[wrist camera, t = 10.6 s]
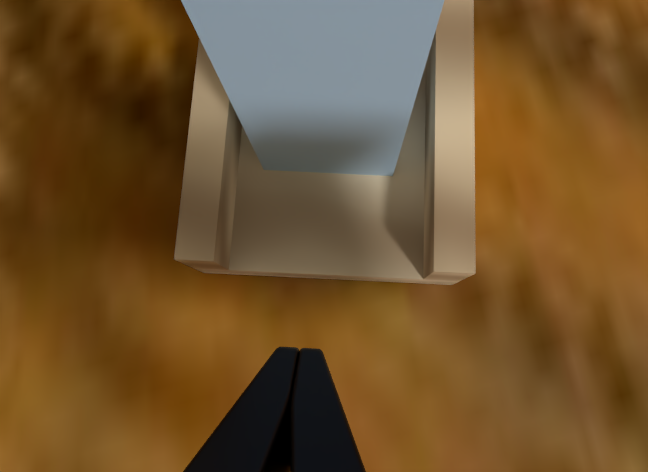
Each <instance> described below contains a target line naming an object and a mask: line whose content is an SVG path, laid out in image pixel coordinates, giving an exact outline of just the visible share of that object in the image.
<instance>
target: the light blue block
mask: <svg viewBox="0 0 648 472" xmlns="http://www.w3.org/2000/svg"><path fill="white" fill-rule="evenodd" d="M181 1H182V3H183V5H184V8H185V10H186V12H187V14H188V16H189V18H190V20H191V22H192V24H193V26H194V28H195V30H196V32H197V34H198V36H199V38H200V40H201V42H202V44H203V46H204V48H205V50H206V53H207V55H208V57H209V59H210V61H211V63H212V65H213V67H214V69H215V71H216V73H217V75H218V77H219V79H220V81H221V83H222V85H223V87H224V89H225V91H226V93H227V95H228V98H229V100H230V102H231V104H232V106H233V108H234V110H235V112H236V114H237V116H238V118H239V120H240V122H241V124H242V126H243V128H244V130H245V132H246V134H247V136H248V138H249V140H250V143H251V145H252V147H253V149H254V151H255V153H256V155H257V157H258V159H259V161H260V163H261V165H262V167H263V169H264V170H277V171H298V172H318V173H338V174H359V175H379V176H393V174H394V170H395V167H396V164H397V160H398V157H399V153H400V150H401V147H402V143H403V140H404V136H405V133H406V130H407V126H408V123H409V119H410V116H411V113H412V109H413V106H414V102H415V99H416V96H417V92H418V89H419V85H420V82H421V79H422V75H423V72H424V68H425V65H426V62H427V58H428V55H429V51H430V48H431V45H432V41H433V38H434V34H435V31H436V28H437V24H438V21H439V17H440V14H441V11H442V7H443V4H444V0H181Z"/></svg>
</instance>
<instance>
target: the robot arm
mask: <svg viewBox="0 0 648 472" xmlns="http://www.w3.org/2000/svg"><path fill="white" fill-rule="evenodd" d="M183 472H366V471H365V468H364V465H363V463H362V460H361V457H360V454H359V452H358V449H357V446H356V443H355V440H354V438H353V435H352V432H351V429H350V427H349V424H348V421H347V418H346V415H345V413H344V410H343V407H342V404H341V402H340V399H339V396H338V393H337V391H336V388H335V385H334V382H333V379H332V377H331V374H330V371H329V368H328V366H327V363H326V360H325V357H324V354H323V352H322V351H321V350H320V349H312V348H302V349H301V350H300V351H299V349H298V348H294V347H279V348H277V349H276V350H275V351H274V352H273V354H272V355H271V356H270V358H269V359H268V360H267V362H266V363H265V364H264V366H263V367H262V368H261V370H260V371H259V372H258V374H257V375H256V376H255V377H254V379H253V380H252V381H251V383H250V384H249V385H248V387H247V388H246V389H245V391H244V392H243V393H242V395H241V396H240V397H239V399H238V400H237V401H236V403H235V404H234V405H233V407H232V408H231V409H230V410H229V412H228V413H227V414H226V416H225V417H224V418H223V420H222V421H221V422H220V424H219V425H218V426H217V428H216V429H215V430H214V432H213V433H212V434H211V436H210V437H209V438H208V439H207V441H206V442H205V443H204V445H203V446H202V447H201V449H200V450H199V451H198V453H197V454H196V455H195V457H194V458H193V459H192V461H191V462H190V463H189V465H188V466H187V467H186V468H185V470H184V471H183Z"/></svg>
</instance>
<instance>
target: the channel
mask: <svg viewBox="0 0 648 472" xmlns="http://www.w3.org/2000/svg"><path fill="white" fill-rule="evenodd" d="M174 260H176V261H179V262H181V263H183V264H185V265H187V266H190V267H192V268H194V269H196V270H199V271H201V272H203V273H217V274H238V275H258V276H279V277H300V278H321V279H341V280H362V281H383V282H404V283H424V284H445V285H453V284H455V283H457V282H459V281H461V280H463V279H465V278H467V277H469V276H471V275H473V274H475V135H474V0H444V4H443V7H442V11H441V14H440V17H439V21H438V24H437V28H436V31H435V34H434V38H433V41H432V45H431V48H430V51H429V55H428V58H427V62H426V65H425V68H424V72H423V75H422V79H421V82H420V85H419V89H418V92H417V96H416V99H415V102H414V106H413V109H412V113H411V116H410V119H409V123H408V126H407V130H406V133H405V136H404V140H403V143H402V147H401V150H400V153H399V157H398V160H397V164H396V167H395V170H394V174H393V176H379V175H359V174H338V173H318V172H298V171H277V170H264V169H263V167H262V165H261V163H260V161H259V159H258V157H257V155H256V153H255V151H254V149H253V147H252V145H251V143H250V140H249V138H248V136H247V134H246V132H245V130H244V128H243V126H242V124H241V122H240V120H239V118H238V116H237V114H236V112H235V110H234V108H233V106H232V104H231V102H230V100H229V98H228V95H227V93H226V91H225V89H224V87H223V85H222V83H221V81H220V79H219V77H218V75H217V73H216V71H215V69H214V67H213V65H212V63H211V61H210V59H209V57H208V55H207V53H206V50H205V48H204V46H203V44H202V42H201V40H200V38H199V43H198V52H197V61H196V70H195V78H194V87H193V96H192V105H191V114H190V122H189V131H188V140H187V149H186V158H185V166H184V175H183V184H182V193H181V202H180V210H179V219H178V228H177V237H176V246H175V254H174Z"/></svg>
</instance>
